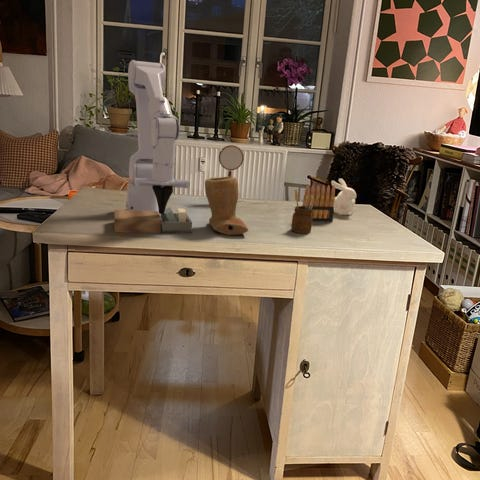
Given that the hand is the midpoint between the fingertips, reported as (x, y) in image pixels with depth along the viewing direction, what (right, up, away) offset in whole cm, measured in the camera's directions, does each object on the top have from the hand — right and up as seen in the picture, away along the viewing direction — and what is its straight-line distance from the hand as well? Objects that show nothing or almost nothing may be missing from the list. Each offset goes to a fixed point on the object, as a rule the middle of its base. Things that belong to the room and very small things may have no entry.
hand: (161, 213), depth 139 cm
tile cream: (+4, -1, +2) cm, 5 cm away
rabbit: (+58, +2, +40) cm, 70 cm away
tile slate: (+2, -2, +1) cm, 2 cm away
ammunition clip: (+46, -1, +25) cm, 52 cm away
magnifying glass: (+17, +6, +41) cm, 44 cm away
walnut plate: (-7, -4, 0) cm, 8 cm away
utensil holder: (+39, -5, +11) cm, 41 cm away
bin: (+3, -4, +2) cm, 6 cm away
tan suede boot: (+17, -5, +6) cm, 18 cm away
